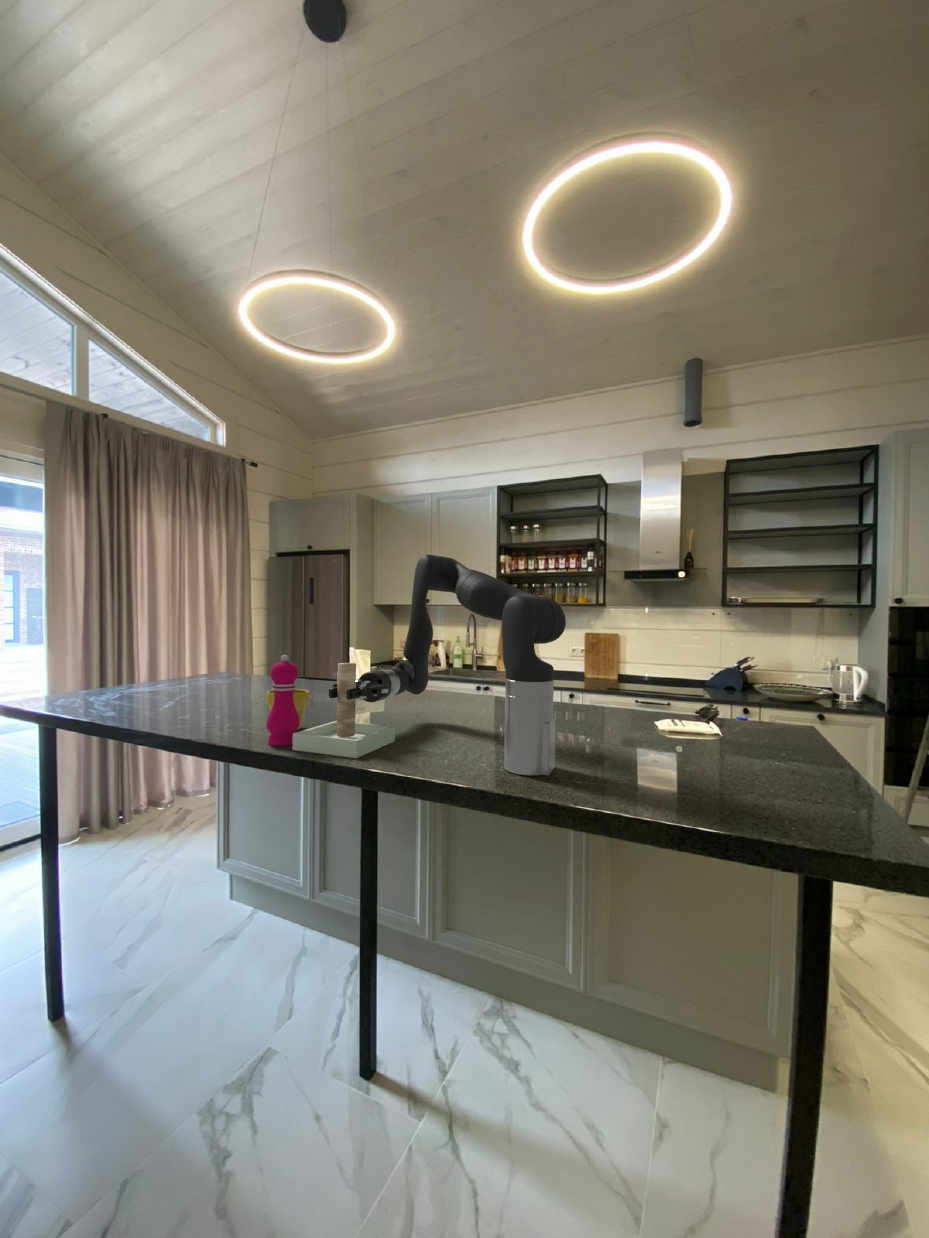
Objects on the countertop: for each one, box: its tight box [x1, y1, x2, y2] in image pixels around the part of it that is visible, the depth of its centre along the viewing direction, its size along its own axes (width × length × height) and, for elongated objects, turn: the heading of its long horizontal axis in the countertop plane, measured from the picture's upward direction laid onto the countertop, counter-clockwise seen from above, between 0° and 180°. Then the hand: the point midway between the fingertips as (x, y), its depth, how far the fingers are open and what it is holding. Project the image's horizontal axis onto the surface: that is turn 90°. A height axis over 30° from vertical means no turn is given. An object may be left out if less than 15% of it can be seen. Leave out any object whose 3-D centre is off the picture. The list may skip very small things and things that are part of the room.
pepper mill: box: [265, 654, 300, 747], centre depth 113 cm, size 7×7×20 cm
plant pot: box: [265, 688, 310, 731], centre depth 127 cm, size 10×10×10 cm
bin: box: [292, 720, 396, 759], centre depth 111 cm, size 16×16×4 cm
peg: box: [336, 662, 357, 737], centre depth 112 cm, size 4×4×16 cm
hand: (339, 694), depth 109 cm, fingers closed on peg, 4 cm apart
